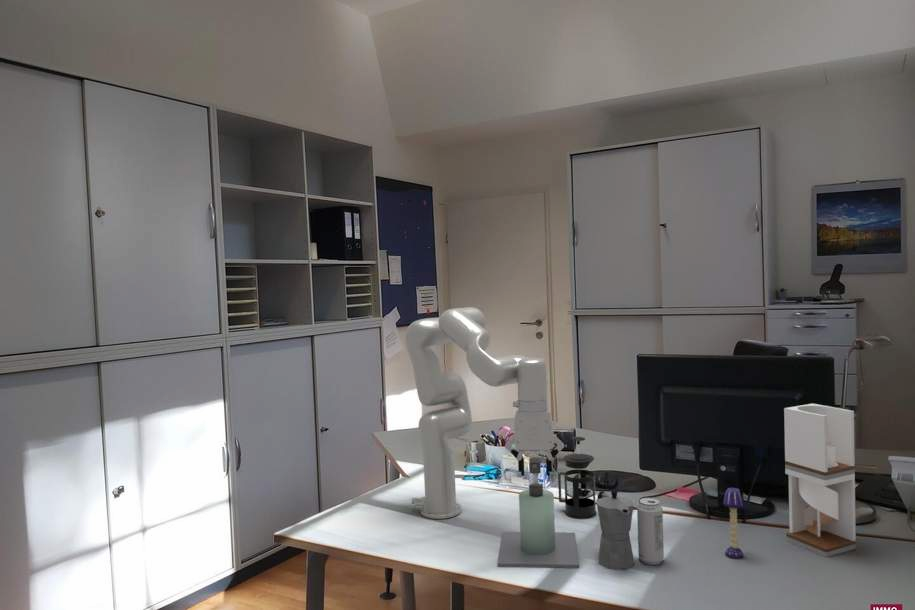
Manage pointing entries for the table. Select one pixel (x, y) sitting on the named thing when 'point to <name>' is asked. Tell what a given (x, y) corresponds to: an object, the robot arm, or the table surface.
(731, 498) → the toy lamp
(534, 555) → the dispenser bottle
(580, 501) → the french press
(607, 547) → the coffeepot
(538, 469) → the pump head
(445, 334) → the robot arm
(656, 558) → the energy drink can
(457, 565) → the table surface
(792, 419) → the white architectural model
